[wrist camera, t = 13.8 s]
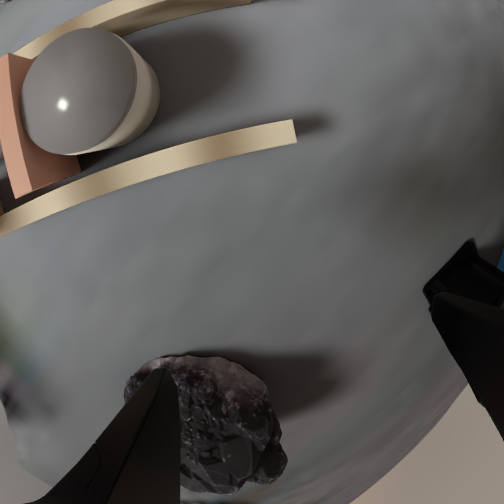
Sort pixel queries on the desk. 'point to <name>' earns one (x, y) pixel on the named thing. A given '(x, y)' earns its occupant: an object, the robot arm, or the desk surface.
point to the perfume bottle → (501, 262)
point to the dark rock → (221, 424)
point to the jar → (88, 93)
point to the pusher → (25, 136)
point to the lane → (158, 163)
